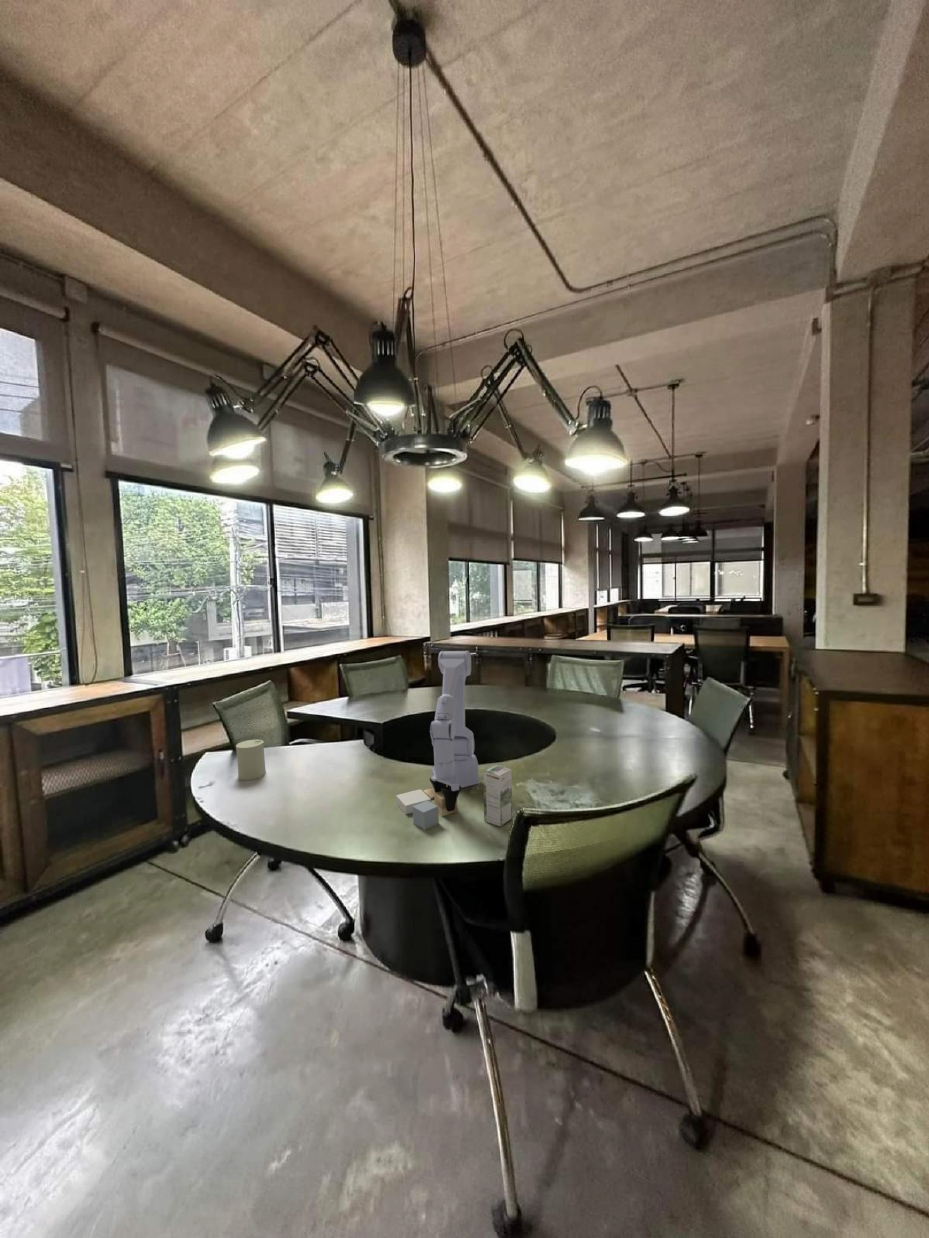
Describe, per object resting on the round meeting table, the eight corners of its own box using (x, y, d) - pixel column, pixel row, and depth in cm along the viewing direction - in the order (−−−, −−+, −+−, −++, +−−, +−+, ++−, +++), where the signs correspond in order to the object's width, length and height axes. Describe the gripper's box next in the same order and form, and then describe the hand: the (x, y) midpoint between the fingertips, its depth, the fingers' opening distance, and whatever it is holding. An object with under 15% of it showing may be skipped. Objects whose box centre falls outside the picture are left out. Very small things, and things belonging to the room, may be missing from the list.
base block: (421, 798, 153) (420, 789, 153) (431, 808, 146) (430, 799, 146) (396, 804, 149) (396, 795, 149) (405, 815, 142) (405, 805, 142)
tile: (441, 787, 160) (441, 785, 160) (450, 795, 154) (450, 793, 154) (421, 792, 157) (421, 790, 157) (430, 800, 151) (430, 798, 150)
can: (270, 774, 176) (268, 741, 175) (244, 782, 169) (242, 748, 168) (259, 767, 182) (257, 736, 181) (233, 775, 176) (231, 742, 175)
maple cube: (450, 805, 147) (449, 789, 146) (457, 812, 142) (457, 795, 142) (434, 809, 145) (434, 792, 144) (441, 816, 140) (441, 799, 140)
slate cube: (427, 817, 140) (426, 800, 139) (438, 823, 136) (438, 806, 136) (413, 823, 137) (412, 806, 136) (424, 830, 133) (423, 812, 132)
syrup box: (496, 813, 141) (494, 764, 139) (513, 819, 137) (511, 768, 136) (483, 821, 136) (482, 770, 135) (501, 827, 132) (499, 775, 131)
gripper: (421, 755, 147) (423, 799, 148) (441, 771, 134) (443, 819, 135) (443, 750, 150) (444, 793, 151) (464, 766, 137) (466, 813, 138)
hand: (445, 805), depth 143 cm, fingers open, 6 cm apart
